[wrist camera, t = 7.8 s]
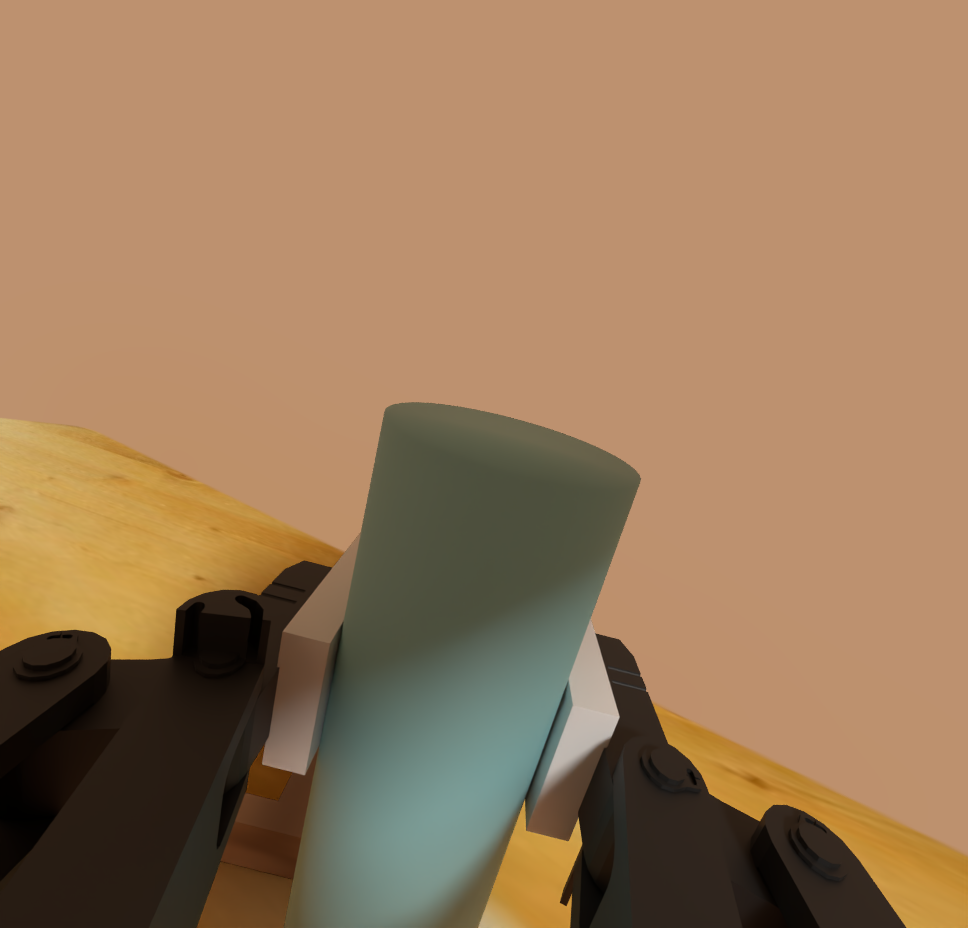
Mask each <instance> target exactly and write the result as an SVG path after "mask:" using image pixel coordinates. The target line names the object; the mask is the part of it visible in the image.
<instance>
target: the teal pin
mask: <svg viewBox="0 0 968 928" xmlns="http://www.w3.org/2000/svg"><path fill="white" fill-rule="evenodd" d="M640 480H641V478H640V475H639V474H638V473H637V472H636V470H635V469H633V468H632V467H631V466H630V465H628V464H627V463H626V462H624V461H622V460H621V459H619V458H617V457H616V456H614V455H612V454H610V453H608V452H606V451H604V450H602V449H600V448H598V447H596V446H593V445H591V444H589V443H586V442H584V441H581V440H578V439H576V438H574V437H571V436H568V435H565V434H563V433H560V432H557V431H554V430H551V429H548V428H545V427H542V426H538V425H535V424H531V423H528V422H525V421H521V420H517V419H514V418H510V417H506V416H502V415H498V414H493V413H489V412H484V411H480V410H475V409H469V408H464V407H458V406H451V405H443V404H434V403H419V402H418V403H417V402H416V403H414V402H412V403H399V404H394V405H391V406H389V407H387V408H386V409H385V412H384V417H383V422H382V428H381V432H380V437H379V443H378V448H377V453H376V458H375V463H374V468H373V474H372V478H371V484H370V489H369V494H368V499H367V504H366V509H365V514H364V519H363V525H362V530H361V535H360V540H359V545H358V550H357V555H356V560H355V565H354V571H353V576H352V581H351V586H350V591H349V596H348V601H347V606H346V612H345V617H344V622H343V627H342V632H341V637H340V642H339V647H338V652H337V658H336V663H335V668H334V673H333V678H332V683H331V688H330V693H329V699H328V704H327V709H326V714H325V719H324V724H323V729H322V734H321V740H320V745H319V750H318V755H317V760H316V765H315V770H314V775H313V781H312V786H311V791H310V796H309V801H308V806H307V811H306V816H305V822H304V827H303V832H302V837H301V842H300V847H299V852H298V857H297V862H296V868H295V873H294V878H293V883H292V888H291V893H290V898H289V903H288V909H287V914H286V919H285V924H284V928H478V926H479V923H480V921H481V918H482V915H483V912H484V910H485V907H486V904H487V901H488V899H489V896H490V893H491V890H492V888H493V885H494V882H495V879H496V877H497V874H498V871H499V868H500V866H501V863H502V860H503V857H504V855H505V852H506V849H507V846H508V844H509V841H510V838H511V836H512V833H513V830H514V827H515V825H516V822H517V819H518V816H519V814H520V811H521V808H522V805H523V803H524V800H525V797H526V794H527V792H528V789H529V786H530V783H531V781H532V778H533V775H534V772H535V770H536V767H537V764H538V761H539V759H540V756H541V753H542V750H543V748H544V745H545V742H546V739H547V737H548V734H549V731H550V728H551V726H552V723H553V720H554V717H555V715H556V712H557V709H558V706H559V704H560V701H561V698H562V695H563V693H564V690H565V687H566V684H567V682H568V679H569V676H570V673H571V671H572V668H573V665H574V662H575V660H576V657H577V654H578V651H579V649H580V646H581V643H582V641H583V638H584V635H585V632H586V630H587V627H588V624H589V621H590V619H591V616H592V613H593V610H594V608H595V605H596V602H597V599H598V596H599V594H600V591H601V588H602V585H603V583H604V580H605V577H606V575H607V572H608V569H609V566H610V564H611V561H612V558H613V555H614V553H615V550H616V547H617V544H618V541H619V539H620V536H621V533H622V531H623V527H624V525H625V522H626V520H627V517H628V514H629V511H630V509H631V506H632V503H633V500H634V498H635V495H636V492H637V489H638V487H639V484H640Z"/></svg>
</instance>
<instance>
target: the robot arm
mask: <svg viewBox="0 0 968 928" xmlns="http://www.w3.org/2000/svg"><path fill="white" fill-rule="evenodd" d="M360 535H361V533H360V534H359V535H358V536H357V537H356V539H355V540H354V541H353V543H352V544H351V545H350V547H349V548H348V549H347V550H346V551H345V553H344V554H343V555H342V557H341V558H340V559H339V560H338V562H337V563H336V564H335V565H334V567H333V568H331V567H327V566H323V565H320V564H316V563H312V562H308V561H302V562H300V563H298V564H295V565H293V566H291V567H289V568H286V569H285V570H284V571H283V572H282V573H281V574H280V575H279V576H278V577H277V578H276V579H275V580H274V581H273V582H272V584H270V585H269V586H268V587H267V588H266V589H265V590H264V591H263V592H262V594H261V595H259V596H258V595H257V594H253V593H249V592H245V591H241V590H220V591H214V592H208V593H204V594H201V595H199V596H196V597H194V598H192V599H189V600H188V601H186V602H185V603H184V604H183V605H181V606H180V607H179V608H178V609H176V622H175V634H174V646H173V656H172V657H171V658H168V659H153V660H111V647H110V645H109V643H108V641H107V639H105V638H104V637H102V636H100V635H98V634H96V633H94V632H87V631H80V630H67V631H55V632H49V633H45V634H41V635H37V636H34V637H30V638H27V639H25V640H22V641H20V642H18V643H16V644H13V645H11V646H9V647H7V648H5V649H3V650H1V651H0V928H196V927H197V924H198V922H199V919H200V916H201V913H202V911H203V908H204V905H205V902H206V900H207V897H208V894H209V891H210V889H211V886H212V883H213V880H214V878H215V875H216V872H217V869H218V867H219V864H220V861H221V858H222V856H223V853H224V850H225V847H226V845H227V842H228V839H229V836H230V833H231V831H232V828H233V825H234V822H235V820H236V817H237V814H238V811H239V809H240V806H241V803H242V800H243V798H244V795H245V792H246V789H247V782H248V775H249V769H250V766H251V765H252V763H253V762H254V760H255V758H256V757H257V755H258V753H259V752H260V750H261V748H262V747H263V745H264V744H265V748H264V755H263V761H262V765H266V766H270V767H274V768H278V769H282V770H286V771H290V772H294V773H298V774H302V775H305V774H306V772H307V770H308V768H309V766H310V763H311V761H312V759H313V757H314V755H315V753H316V751H317V749H318V747H319V744H320V740H321V734H322V729H323V724H324V719H325V714H326V709H327V704H328V699H329V693H330V688H331V683H332V678H333V673H334V668H335V663H336V658H337V652H338V647H339V642H340V637H341V632H342V627H343V622H344V617H345V612H346V606H347V601H348V596H349V591H350V586H351V581H352V576H353V571H354V565H355V560H356V555H357V550H358V545H359V540H360ZM525 808H526V831H530V832H534V833H538V834H542V835H546V836H550V837H554V838H558V839H562V840H566V841H569V839H570V836H571V834H572V832H573V829H574V827H575V824H576V822H577V819H578V817H579V823H580V830H581V837H582V847H581V849H580V852H579V854H578V856H577V859H576V861H575V863H574V866H573V868H572V870H571V873H570V875H569V878H568V880H567V882H566V885H565V887H564V890H563V893H562V897H561V901H560V903H561V904H563V905H565V906H567V904H568V901H569V899H570V897H571V894H572V907H571V925H570V928H906V927H905V925H904V924H903V922H902V921H901V919H900V918H899V917H898V915H897V914H896V912H895V911H894V909H893V908H892V907H891V905H890V904H889V902H888V901H887V900H886V898H885V897H884V895H883V894H882V892H881V891H880V890H879V888H878V887H877V885H876V884H875V882H874V881H873V880H872V878H871V877H870V875H869V874H868V872H867V871H866V870H865V868H864V867H863V865H862V864H861V863H860V861H859V860H858V859H857V857H856V856H855V855H854V854H853V853H852V851H851V850H850V849H849V848H848V847H847V846H846V844H845V843H844V842H843V841H842V840H841V839H840V838H839V837H838V836H837V835H835V834H834V833H833V832H832V831H831V830H830V829H829V828H827V827H826V826H825V825H824V824H823V823H821V822H820V821H818V820H816V819H815V818H813V817H812V816H810V815H809V814H807V813H805V812H804V811H801V810H798V809H796V808H793V807H790V806H788V805H773V806H772V807H770V808H769V809H768V810H767V811H766V812H765V814H764V816H763V817H762V819H761V821H758V820H756V819H754V818H752V817H750V816H748V815H746V814H745V813H743V812H741V811H739V810H737V809H735V808H733V807H731V806H729V805H728V804H726V803H724V802H722V801H720V800H719V799H717V798H715V797H714V796H712V795H710V794H709V792H708V789H707V787H706V784H705V782H704V780H703V778H702V775H701V774H700V773H699V771H698V770H697V769H696V767H695V766H694V765H693V764H692V762H691V761H690V760H689V759H688V758H687V757H685V756H684V755H683V754H682V753H681V752H679V751H678V750H677V749H676V748H675V747H673V746H671V745H669V744H668V742H667V740H666V737H665V735H664V732H663V730H662V727H661V725H660V722H659V719H658V717H657V714H656V712H655V709H654V707H653V704H652V702H651V699H650V697H649V694H648V692H646V687H645V684H644V682H643V679H642V677H640V671H639V669H638V666H637V664H636V661H635V659H634V656H633V655H632V654H631V653H630V652H629V650H628V649H627V648H626V647H625V646H624V644H623V643H622V642H621V641H620V640H619V639H615V638H611V637H607V636H603V635H599V634H596V633H595V631H594V628H593V624H592V621H591V619H590V621H589V624H588V627H587V630H586V632H585V635H584V638H583V641H582V643H581V646H580V649H579V651H578V654H577V657H576V660H575V662H574V665H573V668H572V671H571V673H570V676H569V679H568V682H567V684H566V687H565V690H564V693H563V695H562V698H561V701H560V704H559V706H558V709H557V712H556V715H555V717H554V720H553V723H552V726H551V728H550V731H549V734H548V737H547V739H546V742H545V745H544V748H543V750H542V753H541V756H540V759H539V761H538V764H537V767H536V770H535V772H534V775H533V778H532V781H531V783H530V786H529V789H528V792H527V794H526V797H525Z"/></svg>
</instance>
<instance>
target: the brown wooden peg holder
mask: <svg viewBox="0 0 968 928" xmlns="http://www.w3.org/2000/svg"><path fill="white" fill-rule="evenodd" d="M319 745H320V744H319ZM318 750H319V747H318V749H317V751H316V753H315V755H314V757H313V759H312V761H311V763H310V766H309V768H308V770H307V772H306V774H305V775H302V774H298V773H294V772H293V773H292V775H291V777H290V779H289V780H288V782H287V784H286V786H285V788H284V790H283V792H282V794H281V796H280V798H279V800H278V801H276V800H272V799H268V798H264V797H260V796H256V795H253V794H249V793H245V795H244V798H243V800H242V803H241V806H240V809H239V811H238V814H237V817H236V820H235V822H234V825H233V828H232V831H231V833H230V836H229V839H228V842H227V845H226V847H225V850H224V853H223V856H222V858H221V861H222V862H226V863H230V864H234V865H238V866H242V867H246V868H250V869H254V870H258V871H262V872H266V873H270V874H274V875H278V876H282V877H286V878H290V879H293V878H294V873H295V868H296V862H297V857H298V852H299V847H300V842H301V837H302V832H303V827H304V822H305V816H306V811H307V806H308V801H309V796H310V791H311V786H312V781H313V775H314V770H315V765H316V760H317V755H318Z"/></svg>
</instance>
